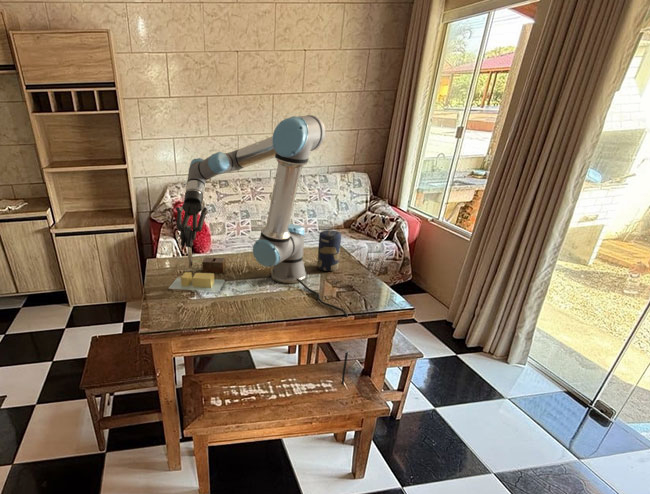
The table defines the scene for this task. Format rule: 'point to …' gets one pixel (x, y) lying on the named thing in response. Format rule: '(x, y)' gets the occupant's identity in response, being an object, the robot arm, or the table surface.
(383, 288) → the table surface
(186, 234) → the knife
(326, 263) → the canister
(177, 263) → the table surface
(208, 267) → the knife block
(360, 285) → the table surface
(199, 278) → the butter block
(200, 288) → the butter dish
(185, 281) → the butter pat
